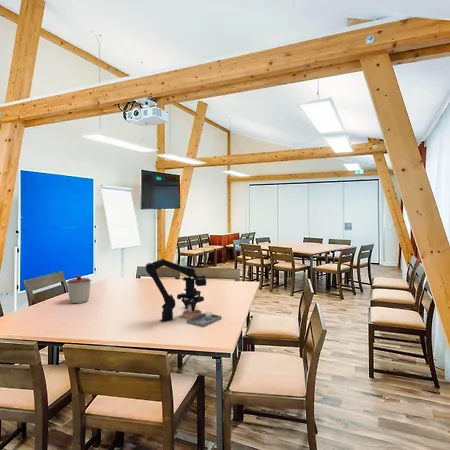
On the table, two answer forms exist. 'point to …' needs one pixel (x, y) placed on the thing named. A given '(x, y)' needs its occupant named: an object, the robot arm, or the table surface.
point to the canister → (78, 289)
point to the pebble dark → (208, 315)
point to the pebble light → (189, 308)
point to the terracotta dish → (191, 314)
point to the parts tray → (203, 320)
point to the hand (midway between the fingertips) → (190, 310)
